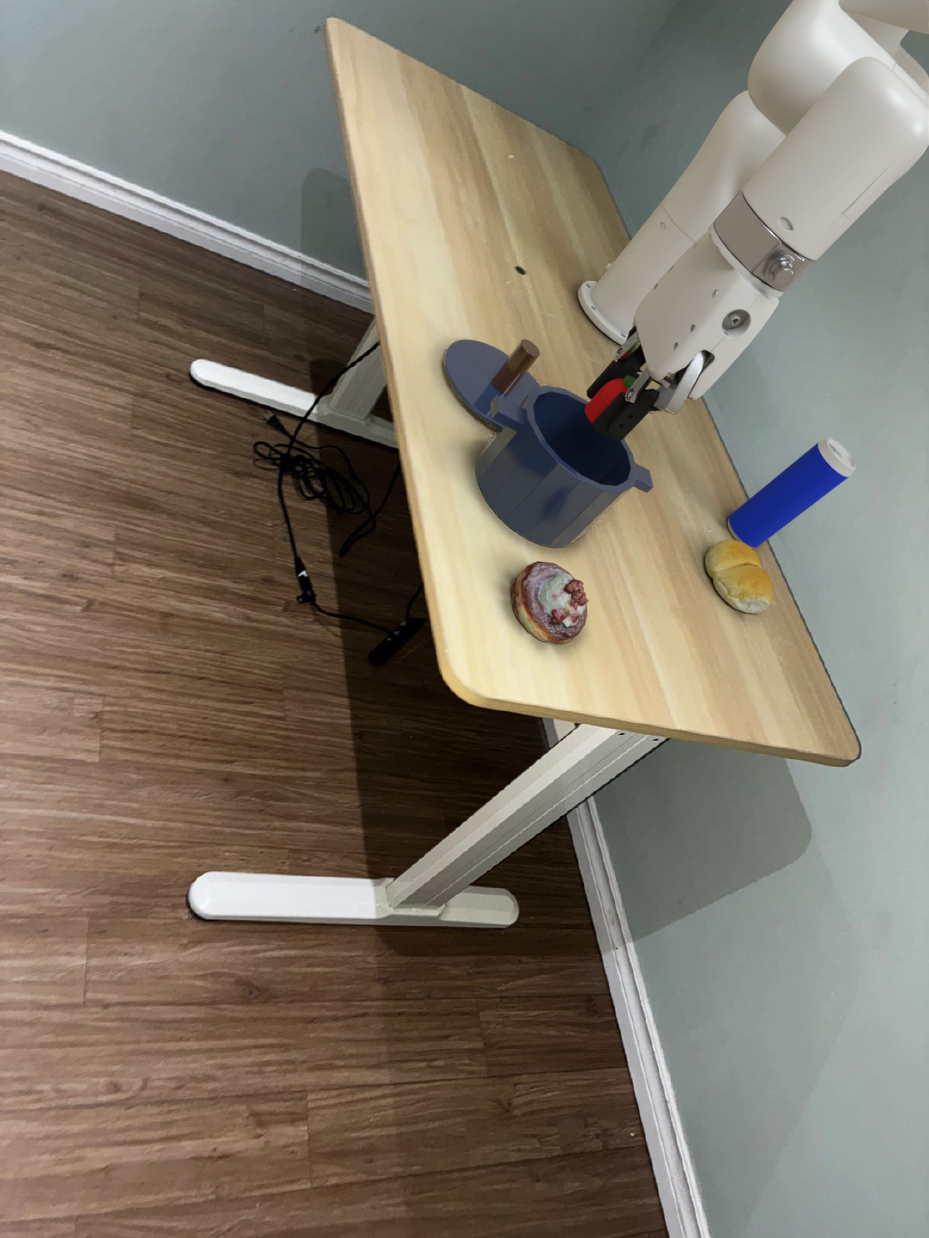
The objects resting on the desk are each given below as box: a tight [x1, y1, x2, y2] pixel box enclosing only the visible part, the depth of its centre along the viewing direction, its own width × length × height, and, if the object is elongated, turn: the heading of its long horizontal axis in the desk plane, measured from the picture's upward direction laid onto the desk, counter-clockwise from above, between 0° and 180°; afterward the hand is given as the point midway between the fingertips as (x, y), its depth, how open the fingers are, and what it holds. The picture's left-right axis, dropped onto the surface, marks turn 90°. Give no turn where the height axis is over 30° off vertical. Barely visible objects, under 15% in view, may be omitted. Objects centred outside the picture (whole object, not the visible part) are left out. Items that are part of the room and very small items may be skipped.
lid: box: [443, 338, 541, 431], centre depth 85 cm, size 14×14×7 cm
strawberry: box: [585, 375, 636, 424], centre depth 71 cm, size 4×4×4 cm
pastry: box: [511, 560, 590, 645], centre depth 70 cm, size 8×8×5 cm
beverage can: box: [727, 437, 857, 549], centre depth 96 cm, size 5×5×15 cm
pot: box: [475, 385, 654, 549], centre depth 77 cm, size 13×18×8 cm
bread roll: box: [704, 538, 774, 614], centre depth 91 cm, size 8×9×4 cm
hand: (603, 415), depth 72 cm, fingers closed on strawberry, 3 cm apart
